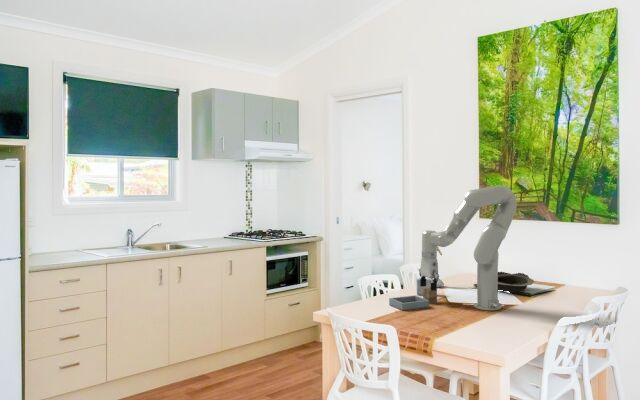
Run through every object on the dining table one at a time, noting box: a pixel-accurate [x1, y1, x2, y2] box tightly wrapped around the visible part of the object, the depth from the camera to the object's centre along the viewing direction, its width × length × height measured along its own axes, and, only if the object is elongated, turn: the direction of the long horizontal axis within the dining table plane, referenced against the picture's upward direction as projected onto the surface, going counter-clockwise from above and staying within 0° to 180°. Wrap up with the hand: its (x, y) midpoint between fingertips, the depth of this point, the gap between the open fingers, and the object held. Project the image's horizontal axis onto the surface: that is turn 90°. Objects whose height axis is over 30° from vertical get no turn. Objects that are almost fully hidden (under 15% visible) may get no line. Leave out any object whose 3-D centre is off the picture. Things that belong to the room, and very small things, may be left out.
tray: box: [388, 294, 430, 312], centre depth 263 cm, size 13×15×4 cm
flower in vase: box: [433, 246, 445, 288], centre depth 310 cm, size 13×11×25 cm
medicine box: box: [415, 277, 432, 296], centre depth 289 cm, size 8×4×9 cm, turn 84°
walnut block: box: [422, 288, 438, 305], centre depth 271 cm, size 5×5×7 cm
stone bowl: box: [498, 271, 535, 294], centre depth 295 cm, size 25×25×9 cm
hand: (428, 288), depth 271 cm, fingers open, 9 cm apart
